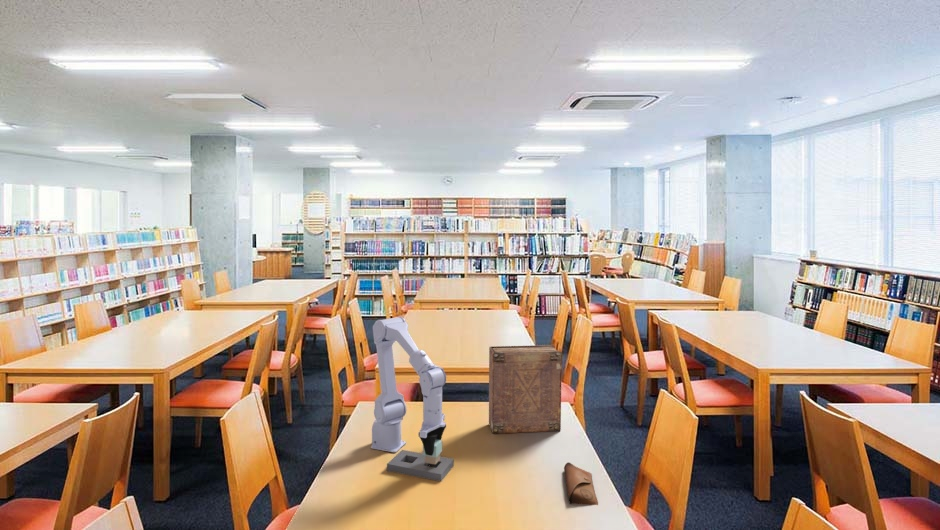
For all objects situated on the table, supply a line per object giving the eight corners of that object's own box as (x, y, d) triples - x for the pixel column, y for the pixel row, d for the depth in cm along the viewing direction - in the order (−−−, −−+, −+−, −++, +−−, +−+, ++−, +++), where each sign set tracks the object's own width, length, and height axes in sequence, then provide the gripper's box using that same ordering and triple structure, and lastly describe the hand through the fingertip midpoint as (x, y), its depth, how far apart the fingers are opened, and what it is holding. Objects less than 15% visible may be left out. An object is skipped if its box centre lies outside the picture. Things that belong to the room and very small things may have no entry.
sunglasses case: (600, 505, 132) (588, 484, 132) (577, 517, 133) (565, 496, 133) (591, 472, 150) (580, 453, 149) (571, 482, 151) (560, 463, 150)
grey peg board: (387, 470, 150) (387, 463, 150) (402, 456, 159) (402, 449, 159) (441, 481, 144) (441, 474, 144) (453, 465, 153) (453, 459, 153)
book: (553, 421, 188) (555, 344, 186) (560, 431, 179) (562, 351, 177) (488, 424, 185) (489, 346, 183) (492, 434, 176) (493, 352, 174)
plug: (423, 463, 148) (423, 444, 148) (428, 456, 153) (429, 438, 152) (436, 465, 147) (436, 446, 147) (442, 459, 151) (442, 440, 151)
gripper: (435, 418, 140) (435, 464, 141) (453, 401, 154) (453, 443, 155) (412, 415, 143) (413, 460, 144) (433, 398, 156) (433, 439, 157)
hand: (432, 451), depth 150 cm, fingers closed on plug, 4 cm apart
